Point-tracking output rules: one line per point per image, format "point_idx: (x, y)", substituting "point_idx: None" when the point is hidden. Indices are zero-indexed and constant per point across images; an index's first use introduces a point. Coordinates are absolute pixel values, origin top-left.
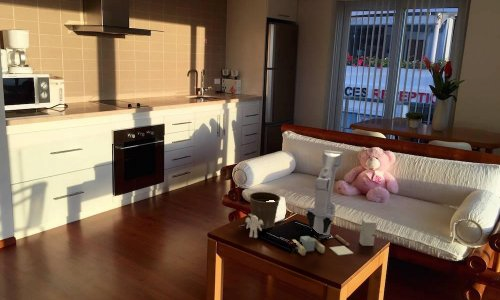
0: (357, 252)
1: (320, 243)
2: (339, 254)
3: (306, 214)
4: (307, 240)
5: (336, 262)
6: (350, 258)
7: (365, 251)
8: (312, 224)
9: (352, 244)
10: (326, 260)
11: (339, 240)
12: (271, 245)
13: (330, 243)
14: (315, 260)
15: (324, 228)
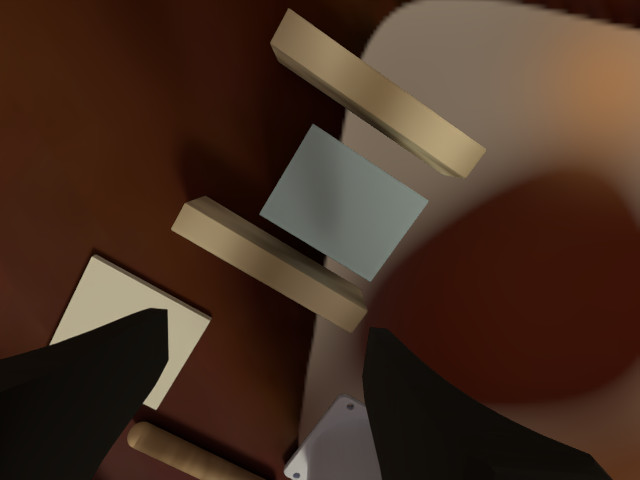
0: None
1: (240, 266)
2: (90, 264)
3: (606, 477)
4: (322, 164)
5: (32, 132)
6: (13, 272)
7: None
8: (373, 387)
9: (140, 466)
10: (104, 106)
11: (227, 461)
12: (612, 15)
13: (251, 388)
14: (163, 33)
15: (96, 332)
